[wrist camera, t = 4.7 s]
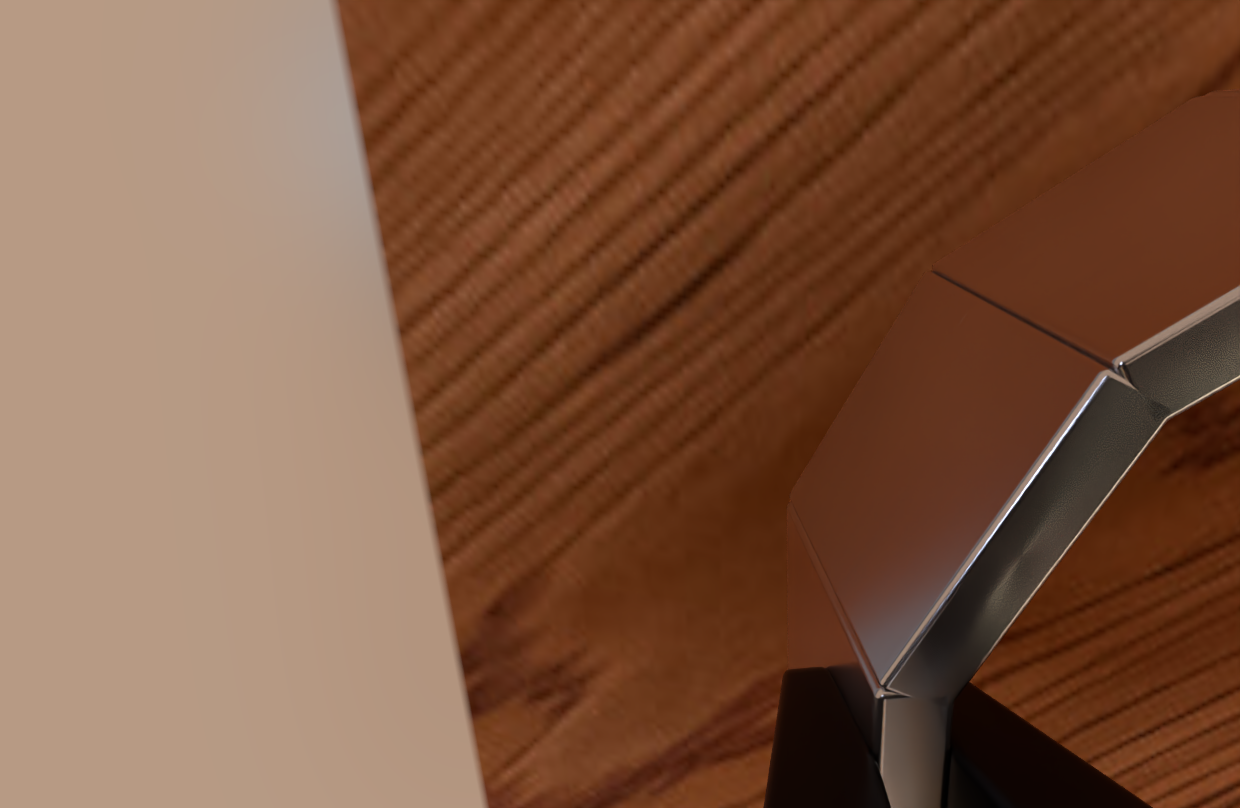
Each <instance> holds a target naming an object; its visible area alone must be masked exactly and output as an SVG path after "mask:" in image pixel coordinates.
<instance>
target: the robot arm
mask: <svg viewBox="0 0 1240 808" xmlns="http://www.w3.org/2000/svg"><path fill="white" fill-rule="evenodd" d="M764 808H891V805H890V802H889V799H888V795H887V792H886V789H885V785H884V782H883V779H882V776H881V773H880V771H879V768H878V765H877V762H876V760H875V758H874V756H873V754H872V753H871V751H870V749H869V747H868V745H867V743H866V741H865V739H864V737H863V735H862V733H861V731H860V730H859V728H858V726H857V724H856V722H855V720H854V718H853V716H852V714H851V712H850V711H849V709H848V707H847V705H846V703H845V701H844V699H843V697H842V695H841V693H840V692H839V690H838V688H837V686H836V684H835V682H834V680H833V678H832V676H831V674H830V673H829V671H828V670H827V669H825V668H824V667H809V668H797V669H789V670H787V671H785V673H784V675H783V680H782V686H781V693H780V700H779V707H778V714H777V720H776V727H775V734H774V741H773V748H772V754H771V761H770V768H769V775H768V782H767V789H766V795H765V802H764ZM945 808H1153V807H1151V806H1150V805H1148V804H1147V803H1145V802H1144V801H1142V800H1141V799H1139V798H1138V797H1137V796H1135V795H1134V794H1132V793H1131V792H1129V791H1128V790H1126V789H1125V788H1123V787H1122V786H1120V785H1119V784H1118V783H1116V782H1115V781H1113V780H1112V779H1110V778H1109V777H1107V776H1106V775H1104V774H1103V773H1101V772H1100V771H1099V770H1097V769H1096V768H1094V767H1093V766H1091V765H1090V764H1088V763H1087V762H1085V761H1084V760H1082V759H1081V758H1080V757H1078V756H1077V755H1075V754H1074V753H1072V752H1071V751H1069V750H1068V749H1066V748H1065V747H1063V746H1062V745H1061V744H1059V743H1058V742H1056V741H1055V740H1053V739H1052V738H1050V737H1049V736H1047V735H1046V734H1044V733H1043V732H1041V731H1040V730H1039V729H1037V728H1036V727H1034V726H1033V725H1031V724H1030V723H1028V722H1027V721H1025V720H1024V719H1022V718H1021V717H1020V716H1018V715H1017V714H1015V713H1014V712H1012V711H1011V710H1009V709H1008V708H1006V707H1005V706H1003V705H1002V704H1001V703H999V702H998V701H996V700H995V699H993V698H992V697H990V696H989V695H987V694H986V693H984V692H983V691H982V690H980V689H979V688H977V687H976V686H974V685H973V684H971V683H970V682H969V683H968V684H967V685H966V686H965V688H964V689H963V690H962V692H961V693H960V694H959V696H958V697H957V698H956V700H955V701H954V706H953V717H952V729H951V741H950V752H949V764H948V776H947V787H946V799H945Z"/></svg>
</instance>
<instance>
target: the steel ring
mask: <svg viewBox="0 0 1240 808" xmlns="http://www.w3.org/2000/svg"><path fill="white" fill-rule="evenodd" d="M932 269H933V271H926V272H925V273H924V274H923V275H922V277H921V279H920V280H919V282H918V283H917V285H916V287H915V288H914V290H913V292H912V293H911V295H910V297H909V298H908V300H907V302H906V303H905V305H904V307H903V308H902V310H901V311H900V313H899V315H898V316H897V318H896V320H895V321H894V323H893V325H892V326H891V328H890V330H889V331H888V333H887V334H886V336H885V338H884V339H883V341H882V343H881V344H880V346H879V348H878V349H877V351H876V353H875V354H874V356H873V358H872V359H871V361H870V362H869V364H868V366H867V367H866V369H865V371H864V372H863V374H862V376H861V377H860V379H859V381H858V382H857V384H856V385H855V387H854V389H853V390H852V392H851V394H850V395H849V397H848V399H847V400H846V402H845V404H844V405H843V407H842V409H841V410H840V412H839V413H838V415H837V417H836V418H835V420H834V422H833V423H832V425H831V427H830V428H829V430H828V432H827V433H826V435H825V436H824V438H823V440H822V441H821V443H820V445H819V446H818V448H817V450H816V451H815V453H814V455H813V456H812V458H811V460H810V461H809V463H808V464H807V466H806V468H805V469H804V471H803V473H802V474H801V476H800V478H799V479H798V481H797V483H796V484H795V486H794V487H793V489H792V491H791V492H790V496H789V498H790V500H791V501H790V502H789V503H788V506H787V625H788V670H789V669H797V668H809V667H824V668H825V669H827V670H828V671H829V673H830V674H831V676H832V678H833V680H834V682H835V684H836V686H837V688H838V690H839V692H840V693H841V695H842V697H843V699H844V701H845V703H846V705H847V707H848V709H849V711H850V712H851V714H852V716H853V718H854V720H855V722H856V724H857V726H858V728H859V730H860V731H861V733H862V735H863V737H864V739H865V741H866V743H867V745H868V747H869V749H870V751H871V753H872V754H873V756H874V758H875V760H876V762H877V765H878V768H879V771H880V773H881V776H882V779H883V782H884V785H885V789H886V792H887V795H888V799H889V802H890V805H891V808H945V799H946V787H947V776H948V764H949V752H950V741H951V729H952V717H953V706H954V701H955V700H956V698H957V697H958V696H959V694H960V693H961V692H962V690H963V689H964V688H965V686H966V685H967V684H968V683H969V681H970V680H971V679H972V677H973V676H974V675H975V673H976V672H977V671H978V669H979V668H980V667H981V665H982V664H983V663H984V662H985V660H986V659H987V658H988V656H989V655H990V654H991V652H992V651H993V650H994V648H995V647H996V646H997V644H998V643H999V642H1000V640H1001V639H1002V638H1003V637H1004V635H1005V634H1006V633H1007V631H1008V630H1009V629H1010V627H1011V626H1012V625H1013V623H1014V622H1015V621H1016V619H1017V618H1018V617H1019V616H1020V614H1021V613H1022V612H1023V610H1024V609H1025V608H1026V606H1027V605H1028V604H1029V602H1030V601H1031V600H1032V598H1033V597H1034V596H1035V594H1036V593H1037V592H1038V591H1039V589H1040V588H1041V587H1042V585H1043V584H1044V583H1045V581H1046V580H1047V579H1048V577H1049V576H1050V575H1051V573H1052V572H1053V571H1054V570H1055V568H1056V567H1057V566H1058V564H1059V563H1060V562H1061V560H1062V559H1063V558H1064V556H1065V555H1066V554H1067V552H1068V551H1069V550H1070V548H1071V547H1072V546H1073V545H1074V543H1075V542H1076V541H1077V539H1078V538H1079V537H1080V535H1081V534H1082V533H1083V531H1084V530H1085V529H1086V527H1087V526H1088V525H1089V524H1090V522H1091V521H1092V520H1093V518H1094V517H1095V516H1096V514H1097V513H1098V512H1099V510H1100V509H1101V508H1102V506H1103V505H1104V504H1105V502H1106V501H1107V500H1108V499H1109V497H1110V496H1111V495H1112V493H1113V492H1114V491H1115V489H1116V488H1117V487H1118V485H1119V484H1120V483H1121V481H1122V480H1123V479H1124V477H1125V476H1126V475H1127V474H1128V472H1129V471H1130V470H1131V468H1132V467H1133V466H1134V464H1135V463H1136V462H1137V460H1138V459H1139V458H1140V456H1141V455H1142V454H1143V453H1144V451H1145V450H1146V449H1147V447H1148V446H1149V445H1150V443H1151V442H1152V441H1153V439H1154V438H1155V437H1156V435H1157V434H1158V433H1159V431H1160V430H1161V429H1162V428H1163V426H1164V425H1165V424H1166V422H1167V421H1168V420H1170V419H1171V418H1173V417H1175V416H1177V415H1179V414H1180V413H1182V412H1184V411H1186V410H1187V409H1189V408H1191V407H1193V406H1194V405H1196V404H1198V403H1200V402H1201V401H1203V400H1205V399H1207V398H1209V397H1210V396H1212V395H1214V394H1216V393H1217V392H1219V391H1221V390H1223V389H1224V388H1226V387H1228V386H1230V385H1231V384H1233V383H1235V382H1237V381H1239V380H1240V89H1231V90H1220V91H1212V92H1210V93H1208V94H1206V95H1204V96H1198V97H1194V98H1192V99H1190V100H1189V101H1187V102H1185V103H1184V104H1182V105H1181V106H1179V107H1178V108H1176V109H1175V110H1173V111H1171V112H1170V113H1168V114H1167V115H1165V116H1164V117H1162V118H1160V119H1159V120H1157V121H1156V122H1154V123H1153V124H1151V125H1150V126H1148V127H1146V128H1145V129H1143V130H1142V131H1140V132H1139V133H1137V134H1135V135H1134V136H1132V137H1131V138H1129V139H1128V140H1126V141H1124V142H1123V143H1121V144H1120V145H1118V146H1117V147H1115V148H1114V149H1112V150H1110V151H1109V152H1107V153H1106V154H1104V155H1103V156H1101V157H1099V158H1098V159H1096V160H1095V161H1093V162H1092V163H1090V164H1088V165H1087V166H1085V167H1084V168H1082V169H1081V170H1079V171H1078V172H1076V173H1074V174H1073V175H1071V176H1070V177H1068V178H1067V179H1065V180H1063V181H1062V182H1060V183H1059V184H1057V185H1056V186H1054V187H1052V188H1051V189H1049V190H1048V191H1046V192H1045V193H1043V194H1042V195H1040V196H1038V197H1037V198H1035V199H1034V200H1032V201H1031V202H1029V203H1027V204H1026V205H1024V206H1023V207H1021V208H1020V209H1018V210H1016V211H1015V212H1013V213H1012V214H1010V215H1009V216H1007V217H1006V218H1004V219H1002V220H1001V221H999V222H998V223H996V224H995V225H993V226H991V227H990V228H988V229H987V230H985V231H984V232H982V233H980V234H979V235H977V236H976V237H974V238H973V239H971V240H970V241H968V242H966V243H965V244H963V245H962V246H960V247H959V248H957V249H955V250H954V251H952V252H951V253H949V254H948V255H946V256H945V257H943V258H941V259H940V260H938V261H937V262H935V263H934V264H933V265H932Z"/></svg>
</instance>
